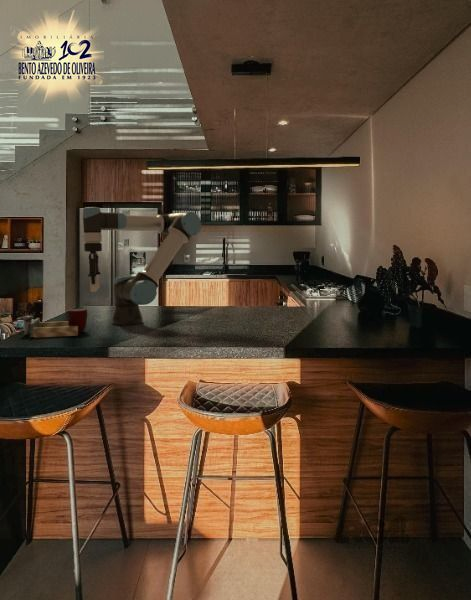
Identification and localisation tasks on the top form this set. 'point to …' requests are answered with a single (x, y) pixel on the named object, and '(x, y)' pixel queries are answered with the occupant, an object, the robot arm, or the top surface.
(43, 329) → the wooden tray
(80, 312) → the mug
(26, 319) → the winch post
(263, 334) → the top surface
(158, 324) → the top surface
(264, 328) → the top surface
